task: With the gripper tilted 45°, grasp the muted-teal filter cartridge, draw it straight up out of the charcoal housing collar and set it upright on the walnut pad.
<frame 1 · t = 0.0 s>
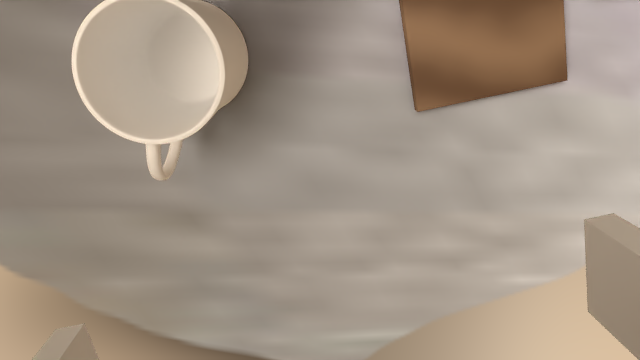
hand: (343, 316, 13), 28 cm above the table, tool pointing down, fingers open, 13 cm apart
mug: (189, 79, 38), on the table
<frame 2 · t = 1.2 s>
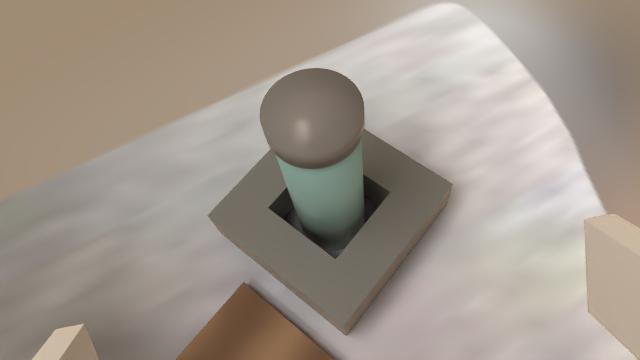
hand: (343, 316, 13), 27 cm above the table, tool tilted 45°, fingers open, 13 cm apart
cartridge: (324, 175, 36), in the housing
housing: (332, 219, 43), on the table
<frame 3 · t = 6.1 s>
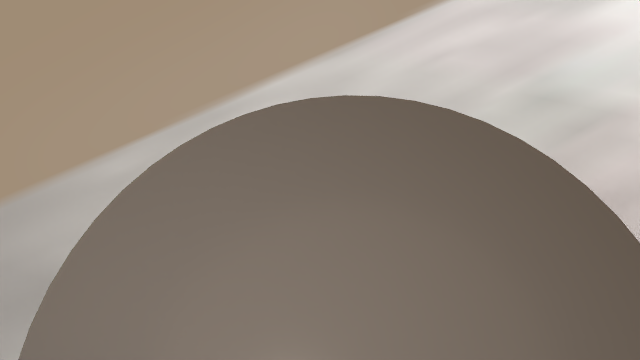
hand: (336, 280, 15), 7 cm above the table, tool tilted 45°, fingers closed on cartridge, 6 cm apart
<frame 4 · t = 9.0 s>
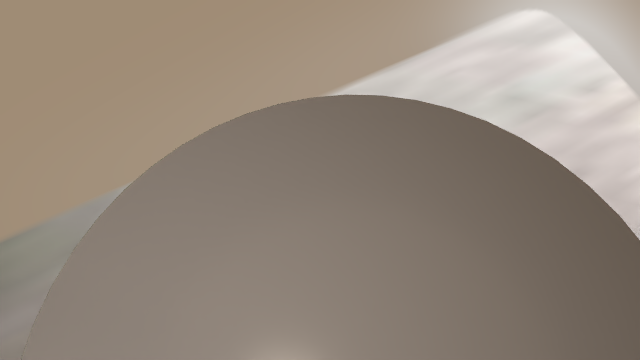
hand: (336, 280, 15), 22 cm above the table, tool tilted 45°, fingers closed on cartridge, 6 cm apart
when the fingers open (9 cm above the table, at t = 12.1 s): cartridge drops 1 cm, resting on pad.
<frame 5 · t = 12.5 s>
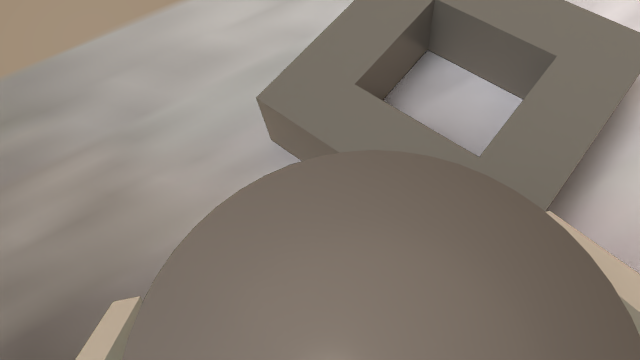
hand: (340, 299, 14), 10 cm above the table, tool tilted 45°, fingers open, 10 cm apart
housing: (444, 116, 28), on the table
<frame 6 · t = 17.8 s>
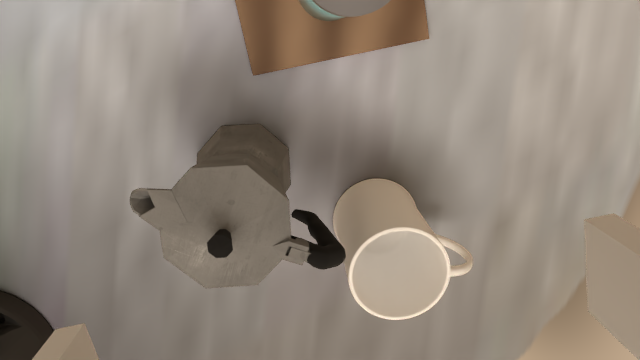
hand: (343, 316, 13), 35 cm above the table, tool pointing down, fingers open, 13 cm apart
coffeepot: (255, 171, 48), on the table
mug: (389, 220, 50), on the table
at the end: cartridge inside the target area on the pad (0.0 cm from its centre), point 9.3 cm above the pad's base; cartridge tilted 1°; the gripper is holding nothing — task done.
